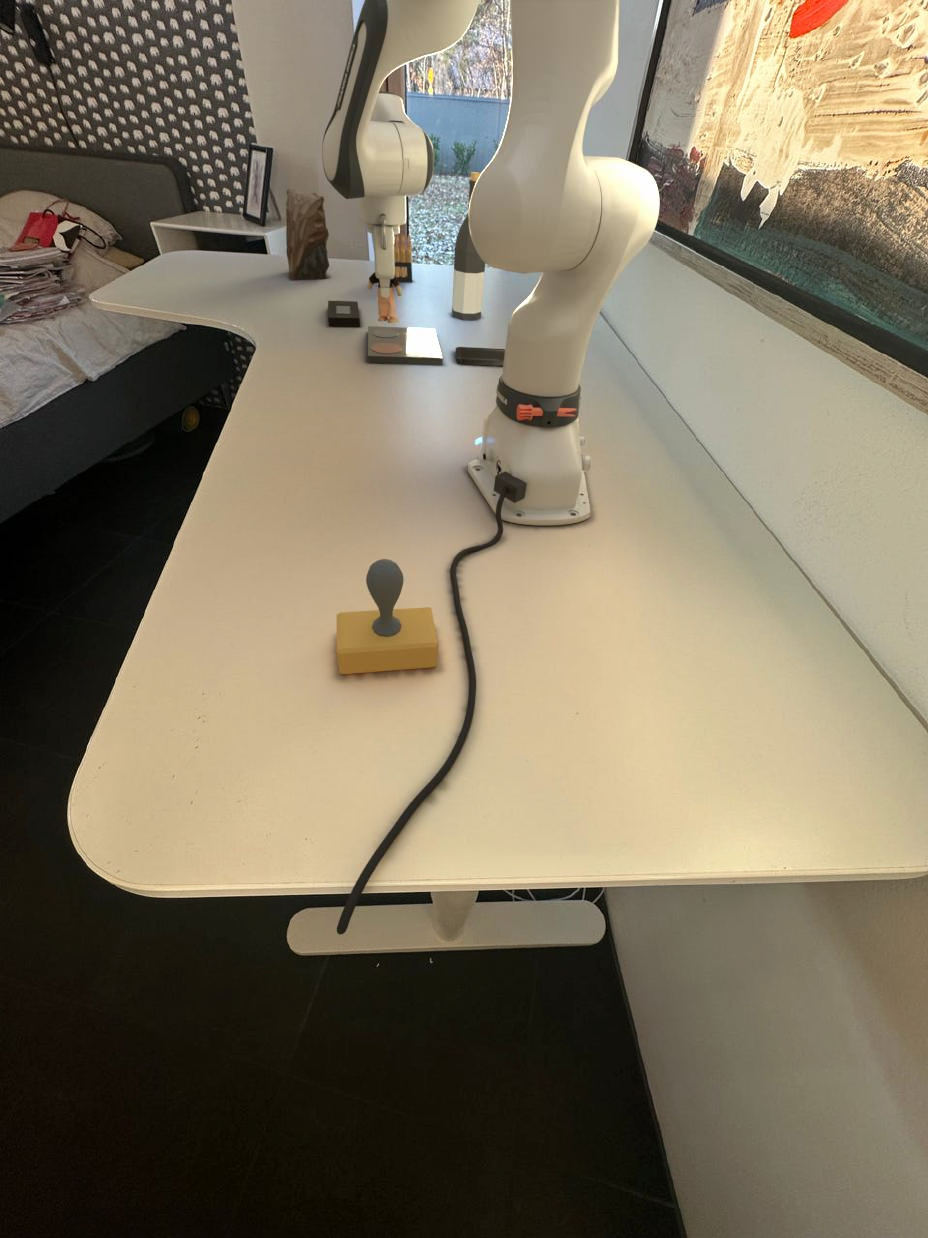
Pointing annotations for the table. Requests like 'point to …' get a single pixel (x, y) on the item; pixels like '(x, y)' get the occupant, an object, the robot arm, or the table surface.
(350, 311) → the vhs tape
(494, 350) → the phone
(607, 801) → the table surface
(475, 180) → the wine bottle
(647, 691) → the table surface
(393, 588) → the rubber stamp
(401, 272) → the ammunition clip
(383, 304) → the grandmother figurine
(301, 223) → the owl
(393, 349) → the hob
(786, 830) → the table surface
